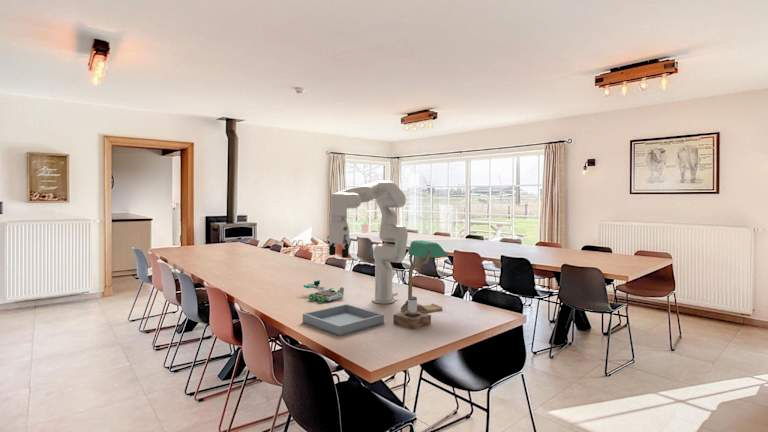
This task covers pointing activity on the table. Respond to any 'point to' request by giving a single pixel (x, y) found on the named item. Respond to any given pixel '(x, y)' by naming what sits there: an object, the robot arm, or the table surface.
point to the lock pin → (412, 306)
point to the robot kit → (324, 292)
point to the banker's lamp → (424, 251)
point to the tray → (343, 319)
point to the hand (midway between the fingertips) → (338, 256)
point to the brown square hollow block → (412, 320)
